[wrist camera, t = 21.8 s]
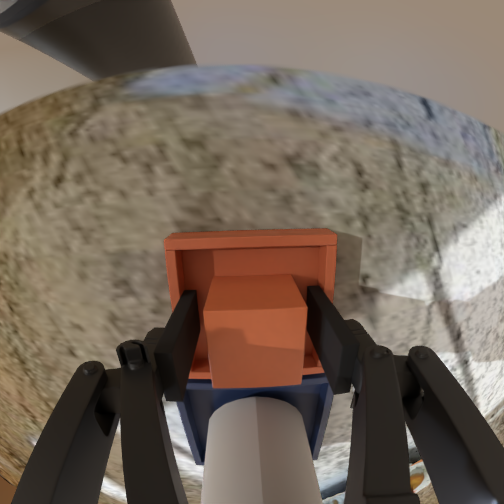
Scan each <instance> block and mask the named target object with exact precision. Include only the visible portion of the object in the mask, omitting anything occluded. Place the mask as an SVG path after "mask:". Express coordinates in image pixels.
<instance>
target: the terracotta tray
mask: <svg viewBox="0 0 504 504" xmlns="http://www.w3.org/2000/svg"><path fill="white" fill-rule="evenodd" d="M164 247H165V257H166V267H167V275H168V283H169V291H170V298H171V305H172V312H173V311H174V309H175V307H176V305H177V303H178V301H179V299H180V297H181V295H182V293H183V291H184V290H196V292H197V301H198V311H199V319H200V328H201V330H200V334H199V338H198V342H197V346H196V350H195V354H194V358H193V362H192V366H191V370H190V374H189V378H188V379H211V373H210V365H209V358H208V350H207V342H206V334H205V325H204V316H203V310H204V307H205V303H206V300H207V296H208V293H209V289H210V286H211V282H212V279H213V277H217V276H251V275H278V274H291V276H292V277H293V279H294V281H295V283H296V285H297V287H298V289H299V291H300V293H301V295H302V297H303V299H304V301H305V303H306V300H307V286H314V285H319V286H320V287H321V288H322V290H323V291H324V292H325V294H326V295H327V297H328V298H329V299H330V301H331V302H332V304H333V295H334V283H335V269H336V253H337V234H335V233H334V232H332V231H330V230H329V229H327V228H322V229H272V230H237V231H209V232H185V233H172V234H171V235H170V236H168V237H167V238H166V239H164ZM317 373H324V370H323V368H322V365H321V363H320V360H319V358H318V355H317V353H316V351H315V348H314V346H313V343H312V341H311V339H310V336H309V334H308V332H307V329H306V340H305V352H304V363H303V373H302V375H308V374H317Z"/></svg>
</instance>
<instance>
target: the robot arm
mask: <svg viewBox="0 0 504 504" xmlns="http://www.w3.org/2000/svg"><path fill="white" fill-rule="evenodd" d="M306 305H307V307H308V311H307V326H306V329H307V332H308V334H309V336H310V339H311V341H312V343H313V346H314V348H315V351H316V353H317V355H318V358H319V360H320V363H321V365H322V368H323V370H324V372H325V375H326V377H327V380H328V382H329V385H330V387H331V390H332V392H333V395H336V394H342V393H348V392H350V388H351V383H352V384H353V386H354V388H355V392H354V396H353V399H352V403H351V407H350V408H353V417H352V434H351V447H350V458H349V468H348V476H347V484H346V491H345V498H344V504H420V500H419V497H418V495H417V494H415V493H412V491H411V484H410V465H409V453H408V442H407V433H406V425H405V422H406V424H407V426H408V429H409V431H410V433H411V435H412V437H413V440H414V442H415V444H416V447H417V449H418V451H419V454H420V456H421V458H422V461H423V463H424V466H425V468H426V470H427V473H428V475H429V478H430V480H431V483H432V486H433V488H434V491H435V494H436V496H437V499H438V502H439V504H504V448H503V446H502V444H501V443H500V441H499V440H498V438H497V437H496V435H495V434H494V432H493V430H492V429H491V427H490V426H489V424H488V423H487V422H486V420H485V419H484V417H483V416H482V414H481V413H480V411H479V410H478V409H477V407H476V406H475V404H474V403H473V402H472V400H471V399H470V397H469V396H468V395H467V393H466V392H465V391H464V389H463V388H462V387H461V385H460V384H459V383H458V381H457V380H456V379H455V377H454V376H453V375H452V374H451V372H450V371H449V370H448V368H447V367H446V366H445V365H444V363H443V362H442V361H441V360H440V358H439V357H438V356H437V355H436V353H435V352H434V351H433V350H431V349H430V348H428V347H425V346H415V347H412V348H411V349H410V350H409V354H408V356H398V355H393V353H392V351H391V350H390V349H388V348H387V347H384V346H380V345H376V343H375V342H374V341H373V339H372V338H371V337H370V336H369V334H367V332H366V330H364V328H363V326H362V325H361V324H360V323H359V322H357V321H355V320H354V319H350V320H344V319H343V318H342V317H341V315H340V314H339V312H338V311H337V309H336V308H335V307H334V305H333V304H332V302H331V301H330V299H329V298H328V297H327V295H326V294H325V292H324V291H323V290H322V288H321V287H320V286H319V285H314V286H307V300H306ZM200 330H201V328H200V319H199V311H198V301H197V292H196V290H184V291H183V293H182V295H181V297H180V299H179V301H178V303H177V305H176V307H175V309H174V311H173V313H172V315H171V317H170V319H169V321H168V323H167V325H166V327H165V328H153V329H152V330H151V331H149V332H148V334H147V335H146V337H145V339H144V341H140V340H129V341H125V342H123V343H121V344H120V345H119V346H117V349H116V352H117V355H118V358H119V361H120V364H121V368H117V369H108V370H105V368H104V366H103V364H102V363H101V362H98V361H88V362H85V363H83V364H81V365H80V366H79V367H78V368H77V370H76V372H75V373H74V375H73V377H72V378H71V380H70V382H69V383H68V385H67V387H66V389H65V390H64V392H63V394H62V396H61V397H60V399H59V401H58V403H57V405H56V406H55V408H54V410H53V412H52V414H51V416H50V418H49V419H48V421H47V423H46V425H45V427H44V429H43V431H42V433H41V435H40V437H39V439H38V441H37V443H36V445H35V447H34V450H33V452H32V454H31V456H30V458H29V460H28V463H27V465H26V467H25V470H24V472H23V474H22V477H21V479H20V482H19V484H18V487H17V489H16V492H15V495H14V497H13V500H12V502H11V504H98V499H99V495H100V490H101V486H102V482H103V477H104V473H105V469H106V465H107V462H108V458H109V454H110V450H111V447H112V443H113V439H114V436H115V432H116V429H117V426H118V422H119V419H120V425H121V447H122V461H123V472H124V481H125V489H126V497H127V503H128V504H188V501H187V498H186V495H185V491H184V488H183V485H182V481H181V478H180V474H179V471H178V467H177V463H176V459H175V456H174V452H173V447H172V443H171V439H170V435H169V430H168V425H167V421H166V416H165V411H164V406H163V402H162V397H163V393H164V395H165V398H166V401H175V402H183V399H184V395H185V391H186V386H187V382H188V378H189V374H190V370H191V366H192V362H193V358H194V354H195V350H196V346H197V342H198V338H199V334H200Z"/></svg>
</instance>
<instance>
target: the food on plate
mask: <svg viewBox="0 0 504 504" xmlns="http://www.w3.org/2000/svg"><path fill="white" fill-rule="evenodd" d="M416 452H417V451H416ZM409 465H410V484H411V491H412V493H417V492H418V491H419V490H421V489H423V488H424V487H426V486H428V485H429V484H430V483H431V480H430V478H429V475H428V473H427V470H426V468H425V466H424V463H423V461H422V459H420V460H419V461H417V462H416V463H414V464H412V463H410V464H409ZM344 498H345V492H343V493H338V494H336V495H334V496H333V497H328V498H326V499H324V500H322V502H323V504H344Z"/></svg>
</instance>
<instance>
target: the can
mask: <svg viewBox="0 0 504 504" xmlns="http://www.w3.org/2000/svg"><path fill="white" fill-rule="evenodd" d="M201 504H323V502H322V498H321V493H320V489H319V485H318V481H317V476H316V472H315V468H314V464H313V459H312V455H311V451H310V447H309V443H308V438H307V434H306V430H305V426H304V422H303V418H302V415H301V414H300V412H299V411H298V410H297V408H296V407H294V406H292V405H291V404H289V403H287V402H285V401H281V400H278V399H274V398H269V397H258V396H254V397H247V398H241V399H238V400H235V401H232V402H230V403H227V404H224V405H223V406H222V407H220V408H219V409H217V410H216V411H214V413H213V414H212V416H211V417H210V419H209V426H208V435H207V444H206V454H205V463H204V473H203V484H202V495H201Z"/></svg>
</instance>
